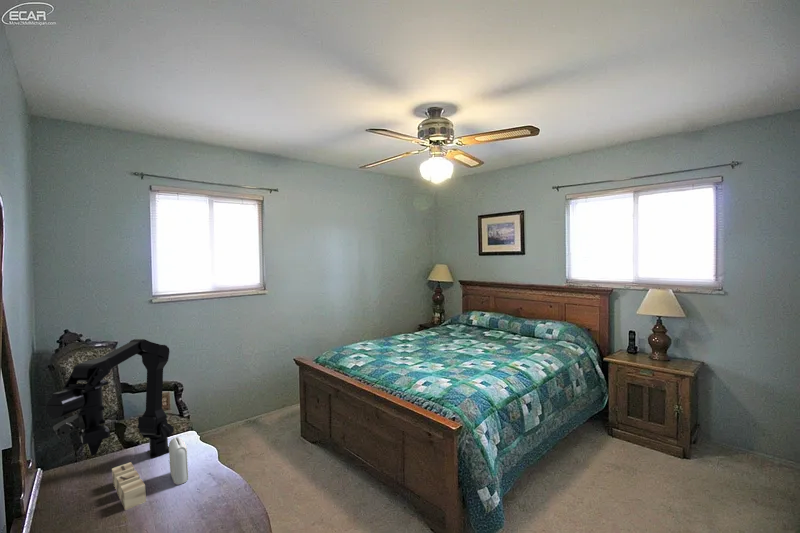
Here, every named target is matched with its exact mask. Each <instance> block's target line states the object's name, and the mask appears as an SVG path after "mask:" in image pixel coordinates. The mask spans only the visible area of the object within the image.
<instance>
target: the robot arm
mask: <svg viewBox="0 0 800 533" xmlns="http://www.w3.org/2000/svg"><path fill="white" fill-rule="evenodd" d="M135 355H138V356H140V357H141V363H142V364H143V367H145V369H146V386H145V389H146V390H145V391H146V392H145V393H146V395H145V410H144V412H143V414H142V415H141V416H139V417H138V418H137V421H138V422H137V423H138V426H137V427H136V428H137V429H138V431H139V433H140V434H141V435H142V438H143V439H146V438H148V444H149V449H148V450H147V451H146V453H147V455H148V457H149V458H150V459H152V458H156V457H159V456H162V455H165V454H169V441H168V440H169V437H171V436H172V434H173V433H174V431H175V430H174V428H175V426H174V425H171V424H170V423H168V418H167V417H168V416H167V414H166V413H165V411H164V409H163V388H164V387H163V384H164V383H163V382H164V375H163V374H164V368H165V366H166V365H167V364H168V362H169V357H170V348H169V347H168V346H167V345H166V344H159V343H156V342H152V341H149V340H148V339H144V338H133V339H131V340H130V341H129V342H127V343H125V344H123V345H122V346H119V347H118V348H116V349H114V350H112V351H110V352H108V353H107V354H105V355H103V356H101V357H97V358H93V359H89V360H85V361H83V362H79V363H77V364H76V365H75V366H74V367H73V370H72V372H71V373H70V376H69V377H68V379H67V381H66V382H65V384H64V386H63V388H62V390H61V391H57V392H54V393H52V394H51V398H50V399H49V400H48V401H47V403H46V405H45V410H46V413H47V415H48V416H49V417H50V418H51V419H59V418H62V417H64V416H66V415H69V414H72V413H73V412H76V414H74V415H72V416H69V417H67V418H65V419H63V420H62V421H59V422H58V423H56V424H54V425H53V426H52V428H53V431H54V433H55V434H56V437H58V439H60V440H61V439H64V438H65V437H67V435H69V434H71V433H73V432H75V431H77V430H79V432H78V434H77V435H78V436H79V439H80V440H81V443H82V445H87V447H88V450H89V453H90V455H91V457H92V456H96V455H97V454H98V451H99V450H100V446H101V444H102V442H103V440H104V439H109V438H110V437H111V430H110V428H109V427H108V426H107V425H105V424H106V420H105V416H104V410H105V405H104V402H103V387H105V386H106V385H108V384H109V383H110V382H109V381H107V380H105V379H104V378H106V377H107V376H109V375H110V373H111V370H113V368H115V367H117V366H118V365H120V364H122V363H124V362H125V361H127V360H129V359H131V358H132V357H135Z"/></svg>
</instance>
